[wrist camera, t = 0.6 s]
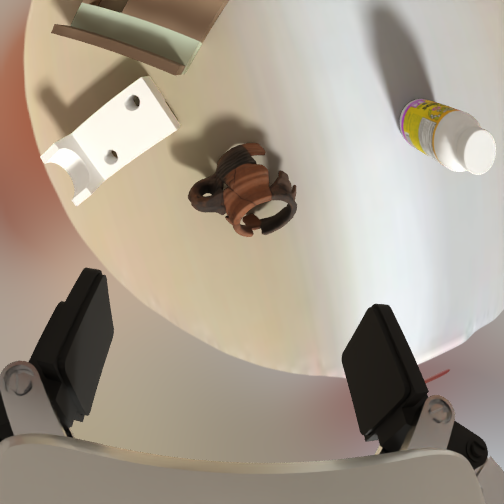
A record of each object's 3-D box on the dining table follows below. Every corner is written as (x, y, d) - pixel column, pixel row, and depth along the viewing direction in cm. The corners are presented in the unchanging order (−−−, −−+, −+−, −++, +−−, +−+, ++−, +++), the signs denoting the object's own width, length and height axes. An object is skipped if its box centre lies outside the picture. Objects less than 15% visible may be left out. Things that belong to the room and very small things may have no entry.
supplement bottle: (442, 103, 32) (508, 127, 21) (435, 149, 36) (494, 187, 25) (399, 93, 32) (463, 113, 21) (393, 143, 35) (450, 181, 25)
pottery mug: (282, 132, 35) (312, 182, 31) (273, 186, 43) (295, 234, 39) (179, 148, 33) (193, 205, 29) (186, 203, 41) (199, 256, 37)
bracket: (100, 181, 37) (76, 206, 30) (70, 138, 33) (40, 157, 27) (182, 124, 34) (169, 138, 27) (150, 75, 30) (129, 78, 24)
